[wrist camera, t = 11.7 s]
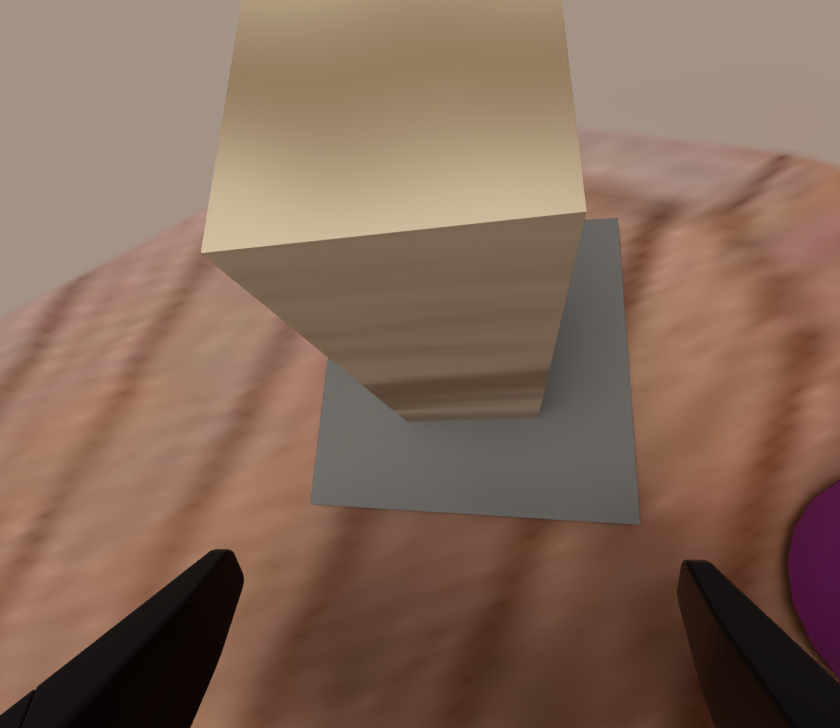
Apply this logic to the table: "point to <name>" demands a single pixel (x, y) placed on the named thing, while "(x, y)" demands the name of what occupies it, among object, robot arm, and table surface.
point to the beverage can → (818, 573)
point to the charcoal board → (505, 426)
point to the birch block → (406, 192)
